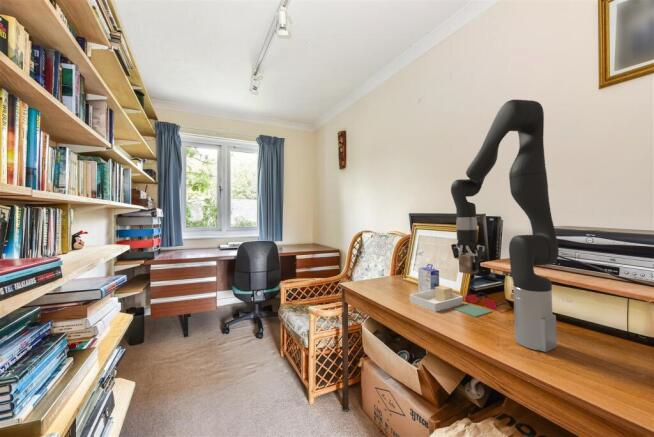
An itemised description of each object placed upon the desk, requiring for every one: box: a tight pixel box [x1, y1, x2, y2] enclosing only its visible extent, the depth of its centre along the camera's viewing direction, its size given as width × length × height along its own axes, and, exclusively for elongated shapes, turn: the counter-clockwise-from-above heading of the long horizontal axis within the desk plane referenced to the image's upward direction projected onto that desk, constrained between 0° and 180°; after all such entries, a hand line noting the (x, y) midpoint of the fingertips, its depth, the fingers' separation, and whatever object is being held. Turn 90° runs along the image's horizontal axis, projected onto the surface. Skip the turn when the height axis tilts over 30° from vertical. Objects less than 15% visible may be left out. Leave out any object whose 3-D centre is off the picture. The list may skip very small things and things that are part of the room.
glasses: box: [463, 292, 509, 311], centre depth 115 cm, size 14×16×5 cm
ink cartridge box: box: [417, 263, 440, 292], centre depth 133 cm, size 10×6×14 cm, turn 18°
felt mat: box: [452, 303, 493, 318], centre depth 107 cm, size 10×10×1 cm
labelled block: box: [458, 253, 479, 275], centre depth 107 cm, size 5×5×7 cm
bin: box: [409, 289, 464, 313], centre depth 118 cm, size 15×17×4 cm
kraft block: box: [435, 285, 453, 302], centre depth 120 cm, size 5×5×6 cm
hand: (468, 270), depth 107 cm, fingers closed on labelled block, 5 cm apart
